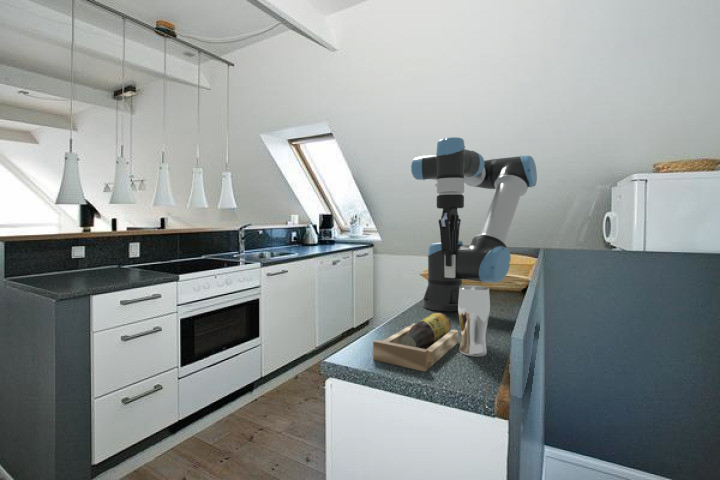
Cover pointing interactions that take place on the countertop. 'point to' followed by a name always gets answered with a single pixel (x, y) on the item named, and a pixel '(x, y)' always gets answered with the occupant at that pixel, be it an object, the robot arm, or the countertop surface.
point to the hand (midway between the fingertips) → (449, 277)
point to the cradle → (412, 350)
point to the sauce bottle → (427, 331)
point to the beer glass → (473, 319)
